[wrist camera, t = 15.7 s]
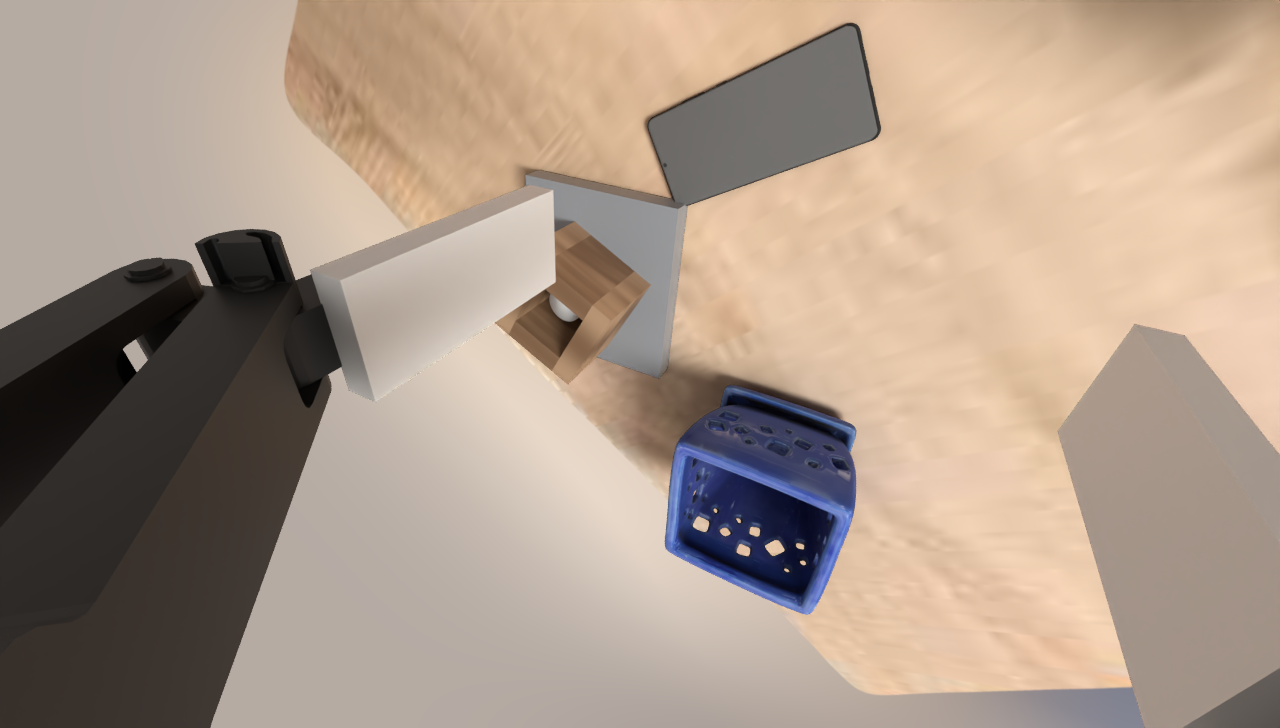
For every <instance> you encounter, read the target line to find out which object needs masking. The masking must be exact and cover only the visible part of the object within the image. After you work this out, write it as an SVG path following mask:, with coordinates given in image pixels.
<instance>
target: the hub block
mask: <svg viewBox="0 0 1280 728" xmlns="http://www.w3.org/2000/svg"><path fill="white" fill-rule="evenodd" d="M554 235H555V273H556V282H555V283H554V284H552V285H551V286H549V287H548V288H546V289H545V290H543V291H542V292H540V293H539V294H537V295H536V296H534V297H533V298H531V299H530V300H528V301H527V302H525V303H524V304H522V305H521V306H519V307H518V308H516V309H515V310H513V311H512V312H510V313H509V314H507V315H506V316H504V317H503V318H501V319H500V320H498V321H497V322H495V323H496V324H497V325H498V326H499V327H500V328H502V329H503V330H504V331H505V332H506V333H508V334H509V335H510V336H511V337H512V338H513V339H515V340H516V341H517V342H518V343H519V344H521V345H522V346H523V347H524V348H525V349H526V350H528V351H529V352H530V353H531V354H532V355H534V356H535V357H536V358H537V359H538V360H540V361H541V362H542V363H543V364H544V365H545V366H547V367H548V368H549V369H550V370H551V371H553V372H554V373H555V374H556V375H557V376H558V377H560V378H561V379H562V380H563V381H564V382H566V383H567V384H569V383H570V382H571V381H572V380H573V379H574V378H575V377H576V376H577V375H578V374H579V373H580V372H581V371H582V370H583V369H584V368H586V367H587V366H588V365H589V364H590V363H591V362H592V361H593V360H594V359H595V358H596V357H597V356H598V355H599V354H600V353H601V352H602V351H603V350H604V349H605V348H606V347H607V346H608V345H609V344H610V342H611V341H612V339H613V338H614V337H615V335H616V334H617V332H618V331H619V330H620V328H621V327H622V325H623V324H624V322H625V321H626V320H627V318H628V317H629V315H630V314H631V313H632V311H633V310H634V308H635V307H636V306H637V304H638V303H639V301H640V300H641V298H642V297H643V296H644V294H645V293H646V291H647V290H648V289H649V287H650V286H651V285H650V284H649V283H648V282H647V281H646V280H644V279H643V278H642V277H641V276H640V275H638V274H637V273H636V272H635V271H634V270H632V269H631V268H630V267H629V266H628V265H626V264H625V263H624V262H623V261H622V260H620V259H619V258H618V257H617V256H616V255H614V254H613V253H612V252H611V251H610V250H608V249H607V248H606V247H605V246H604V245H602V244H601V243H600V242H599V241H598V240H596V239H595V238H594V237H593V236H592V235H590V234H589V233H588V232H587V231H586V230H584V229H583V228H582V227H581V226H580V225H578V224H577V223H576V222H573V223H571V224H569V225H567V226H565V227H564V228H562V229H560V230H558V231H556V232H554ZM550 294H552V295H553V296H554V297H555V298H556V299H558V300H559V301H560V302H561V303H562V304H564V305H565V306H566V307H567V308H568V309H569V310H571V311H572V312H573V313H574V314H575V315H577V316H578V317H579V318H578V319H576V320H575V321H570V322H569V321H565V320H562V319H561V318H559V317H558V316H557V315H556V314H555V313H554V312H553V310H552V308H551V306H550V301H549V298H550Z"/></svg>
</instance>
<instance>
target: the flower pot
mask: <svg viewBox="0 0 1280 728" xmlns="http://www.w3.org/2000/svg"><path fill="white" fill-rule="evenodd" d="M855 437H856V429H855V427H854V426H853V425H852V424H850V423H848V422H846V421H843V420H840V419H838V418H835V417H832V416H829V415H826V414H823V413H820V412H817V411H815V410H812V409H809V408H806V407H803V406H800V405H797V404H794V403H791V402H788V401H785V400H782V399H779V398H775V397H772V396H769V395H766V394H763V393H760V392H757V391H753V390H750V389H747V388H744V387H740V386H736V385H729V386H727V387H726V388H725V390H724V393H723V397H722V402H721V407H720V408H719V409H716V410H714V411H712V412H710V413H709V414H707V415H705V416H704V417H702V418H701V419H700V420H698V421H697V422H696V423H695V424H694V425H693V426H691V427H690V428H689V430H688V431H687V432H686V433H685V434H684V435H683V436H682V437H681V438H680V440H679V441H678V443H677V445H676V448H675V452H674V457H673V462H672V469H671V478H670V486H669V498H668V513H667V524H666V535H665V547H666V549H667V550H668V551H669V552H670V553H672V554H674V555H675V556H677V557H679V558H681V559H683V560H685V561H687V562H689V563H691V564H693V565H695V566H697V567H699V568H701V569H703V570H705V571H707V572H709V573H711V574H713V575H715V576H718V577H720V578H722V579H724V580H726V581H728V582H730V583H732V584H735V585H737V586H739V587H741V588H743V589H745V590H747V591H750V592H752V593H754V594H756V595H759V596H761V597H763V598H765V599H767V600H770V601H772V602H774V603H777V604H779V605H781V606H784V607H786V608H789V609H791V610H794V611H797V612H799V613H802V614H810V613H812V611H813V610H814V609H815V607H816V605H817V603H818V602H819V600H820V598H821V596H822V594H823V592H824V590H825V587H826V585H827V583H828V581H829V578H830V576H831V573H832V571H833V568H834V566H835V563H836V560H837V558H838V555H839V552H840V550H841V548H842V545H843V543H844V540H845V538H846V535H847V532H848V530H849V527H850V524H851V521H852V517H853V514H854V508H855V499H856V472H855V467H854V462H853V459H852V456H851V454H850V452H851V449H852V446H853V443H854V440H855ZM697 471H698V473H697ZM695 490H696V492H695V494H694V491H695ZM693 494H694V496H693ZM714 508H716V509H717V513H715V512H714V511H713V509H714ZM698 516H700V517H702V518H704V519H706V520H708V521H709V527H708V530H707V532H702V531H699V530H697V529H695V528H694V527H693V523H694V521H695V519H696V518H697V517H698ZM736 518H739V519H740V520H741V523H738V522H737V520H736ZM750 527H758V528H759V529H760V535H759V536H758V537H756V536H753V535H750V534H749V531H750ZM722 528H727V529H728V530H729V531H730V533H731V534H730V535H728V536H726V537H725V536H723V535H722V534H721V533H720V529H722ZM774 540H779V541H780V543H781V544H782V546H783V547H784V549H785V551H784V552H782V553H780V554H778V555H776V556H772V555H771V554H770V553H769V552H768V551H767V550H766V548H765V545H767V544H768V543H770V542H772V541H774ZM796 543H800V544H803V545H804V549H803V550H802V549H798V548H797V547H796ZM739 544H743V545H745V546H747V547H749V548H750V555H749V556H743V555H740V554H738V553H737V552H736V551H737V548H738V546H739ZM802 560H803V561H805V562H806V565H802V564H801V563H800V561H802ZM784 568H786V569H788V570H789V572H786V571H784Z"/></svg>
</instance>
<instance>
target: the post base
mask: <svg viewBox="0 0 1280 728" xmlns="http://www.w3.org/2000/svg"><path fill="white" fill-rule="evenodd" d="M525 178H526V186H528V185H533V186H538V187H542V188H546V189H551V190H553V197H554V232H556V231H558V230H560V229H562V228H564V227H565V226H567V225H569V224H571V223H573V222H576V223H577V224H578V225H580V226H581V227H582V228H583V229H584V230H586V231H587V232H588V233H589V234H590V235H592V236H593V237H594V238H595V239H596V240H598V241H599V242H600V243H601V244H602V245H604V246H605V247H606V248H607V249H608V250H610V251H611V252H612V253H613V254H614V255H616V256H617V257H618V258H619V259H620V260H622V261H623V262H624V263H625V264H626V265H628V266H629V267H630V268H631V269H632V270H634V271H635V272H636V273H637V274H638V275H640V276H641V277H642V278H643V279H644V280H646V281H647V282H648V283H649V284H650V285H651V286H650V287H649V289H648V290H647V291H646V293H645V294H644V296H643V297H642V298H641V300H640V301H639V303H638V304H637V306H636V307H635V308H634V310H633V311H632V313H631V314H630V315H629V317H628V318H627V320H626V321H625V322H624V324H623V325H622V327H621V328H620V330H619V331H618V332H617V334H616V335H615V337H614V338H613V339H612V341H611V342H610V344H609V345H608V346H607V347H606V348H605V349H604V350H603V351H602V352H601V353H600V354H599V355H598V356H597V357H598V358H600V359H603V360H606V361H609V362H612V363H615V364H618V365H621V366H624V367H627V368H630V369H633V370H635V371H638V372H641V373H644V374H647V375H650V376H653V377H656V378H660V377H661V376H662V374H663V373H664V372H665V371H666V369H667V368H668V361H669V353H670V345H671V337H672V329H673V320H674V312H675V304H676V296H677V288H678V280H679V272H680V264H681V256H682V248H683V240H684V231H685V223H686V215H687V207H688V206H686V204H682V203H678V202H674V199H670V198H666V197H661V196H657V195H652V194H647V193H643V192H638V191H634V190H629V189H624V188H620V187H615V186H611V185H606V184H601V183H597V182H592V181H588V180H583V179H578V178H574V177H569V176H565V175H560V174H555V173H551V172H546V171H542V170H538V171H535V172H532V173H529V174H526V175H525ZM549 301H550V306H551V308H552V310H553V312H554V313H555V314H556V315H557V316H558V317H559V318H561V319H562V320H565V321H569V322H570V321H575V320H576V319H578V318H579V317H578V316H577V315H575V314H574V313H573V312H572V311H571V310H569V309H568V308H567V307H566V306H565V305H564V304H562V303H561V302H560V301H559V300H558V299H556V298H555V297H554V296H553V295H552V294H550V298H549Z"/></svg>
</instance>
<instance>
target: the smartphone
mask: <svg viewBox="0 0 1280 728" xmlns="http://www.w3.org/2000/svg"><path fill="white" fill-rule="evenodd" d="M862 42H863V41H862V36H861V31H860V28H859V26H858V25H857V24H854V23H848V24H846V25H844V26H842V27H839V28H837V29H835V30H833V31H831V32H829V33H827V34H825V35H823V36H821V37H819V38H817V39H815V40H812V41H810V42H808V43H806V44H804V45H802V46H800V47H798V48H796V49H794V50H792V51H790V52H788V53H785V54H783V55H781V56H779V57H777V58H775V59H773V60H771V61H769V62H767V63H765V64H763V65H760V66H758V67H756V68H754V69H752V70H750V71H748V72H746V73H744V74H742V75H740V76H738V77H736V78H733V79H731V80H729V81H725V82H723V83H721V84H719V85H717V86H716V87H715V88H713V89H711V90H709V91H706V92H702V93H700V94H698V95H696V96H694V97H692V98H690V99H688V100H686V101H684V102H682V103H681V104H679V105H677V106H675V107H673V108H671V109H669V110H667V111H665V112H663V113H661V114H659V115H657V116H654V117H652V118H651V119H650V120H649V122H648V131H649V133H650V136H651V139H652V142H653V144H654V147H655V150H656V152H657V155H658V158H659V161H660V163H661V166H662V169H663V172H664V174H665V177H666V180H667V183H668V185H669V188H670V191H671V194H672V196H673V199H674V202H678V203H682V204H686V206H688V205H691V204H694V203H697V202H700V201H702V200H705V199H708V198H711V197H714V196H717V195H719V194H722V193H725V192H728V191H731V190H734V189H736V188H739V187H742V186H745V185H748V184H750V183H753V182H756V181H759V180H762V179H765V178H767V177H770V176H773V175H776V174H779V173H782V172H784V171H787V170H790V169H793V168H796V167H799V166H801V165H804V164H807V163H810V162H813V161H816V160H818V159H821V158H824V157H827V156H830V155H833V154H835V153H838V152H841V151H844V150H847V149H850V148H852V147H855V146H858V145H861V144H864V143H867V142H869V141H872V140H874V139H876V138H877V137H878V135H879V134H880V131H881V125H880V121H879V116H878V111H877V107H876V102H875V97H874V92H873V88H872V85H871V81H870V76H869V69H868V64H867V60H866V56H865V50H864V47H863V43H862Z"/></svg>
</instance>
